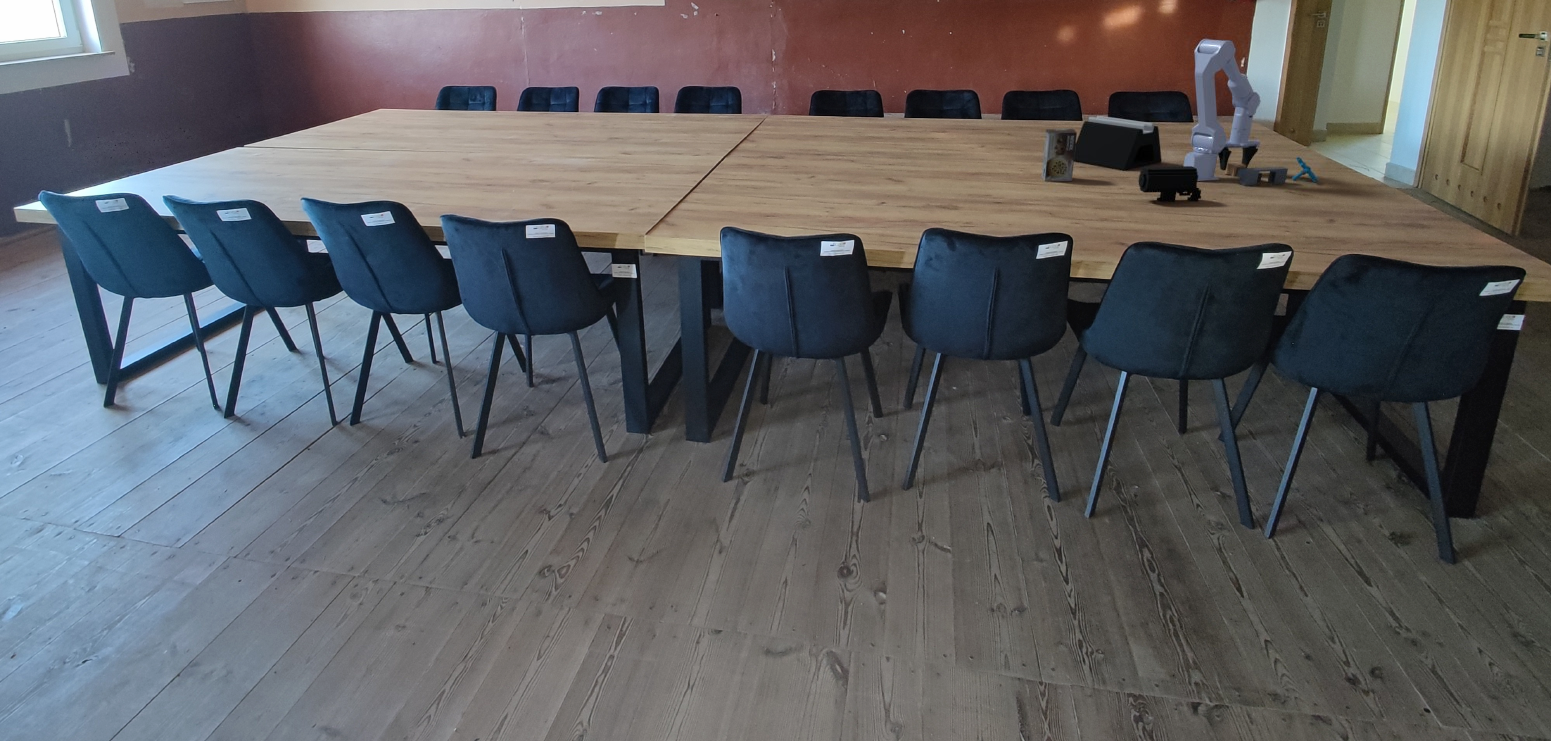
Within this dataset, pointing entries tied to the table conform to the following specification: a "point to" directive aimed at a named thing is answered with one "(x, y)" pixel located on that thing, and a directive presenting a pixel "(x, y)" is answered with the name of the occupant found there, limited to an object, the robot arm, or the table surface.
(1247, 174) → the housing
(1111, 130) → the device stand
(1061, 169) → the coffee box
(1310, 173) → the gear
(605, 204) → the table surface
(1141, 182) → the security camera
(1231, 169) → the plug
